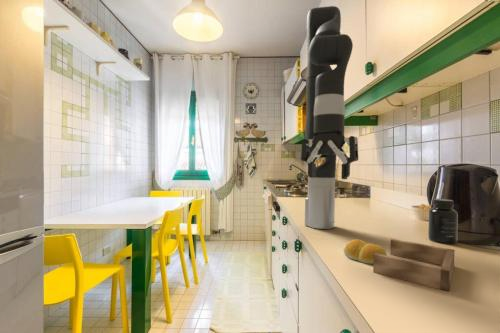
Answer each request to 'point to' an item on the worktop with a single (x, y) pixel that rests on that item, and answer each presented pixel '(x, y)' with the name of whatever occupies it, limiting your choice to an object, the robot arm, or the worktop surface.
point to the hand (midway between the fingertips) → (327, 178)
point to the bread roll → (362, 251)
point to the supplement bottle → (443, 222)
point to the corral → (417, 264)
